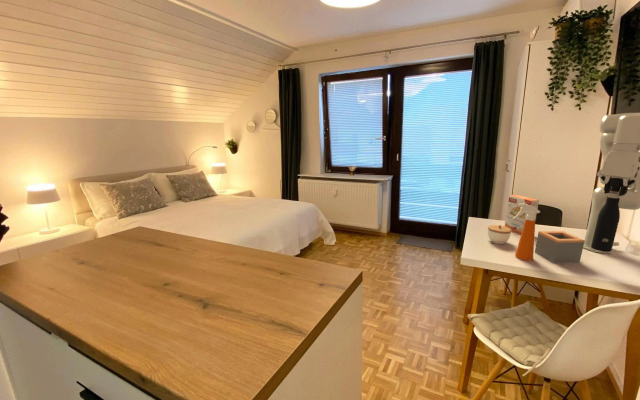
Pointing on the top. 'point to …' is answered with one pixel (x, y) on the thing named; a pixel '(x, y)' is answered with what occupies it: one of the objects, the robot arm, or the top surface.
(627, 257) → the top surface
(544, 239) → the sleeve
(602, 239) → the black water bottle
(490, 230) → the lidded jar
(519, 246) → the spray bottle
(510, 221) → the cracker box
